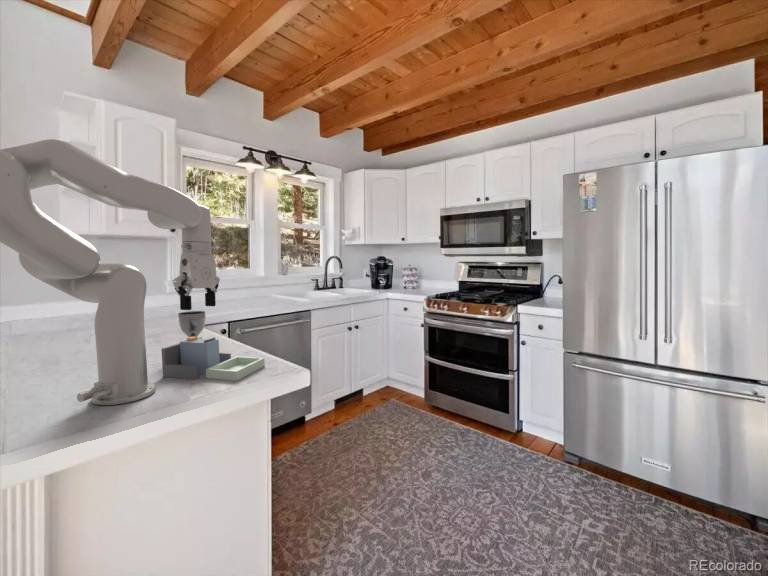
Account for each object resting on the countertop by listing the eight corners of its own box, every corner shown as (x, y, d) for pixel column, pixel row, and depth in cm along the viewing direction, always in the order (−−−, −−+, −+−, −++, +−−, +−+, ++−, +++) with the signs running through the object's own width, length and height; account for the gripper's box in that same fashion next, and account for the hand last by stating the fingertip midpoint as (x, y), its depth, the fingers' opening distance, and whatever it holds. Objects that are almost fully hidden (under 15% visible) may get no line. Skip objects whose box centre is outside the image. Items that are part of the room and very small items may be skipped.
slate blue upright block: (208, 374, 104) (206, 340, 103) (181, 372, 106) (179, 339, 105) (219, 369, 109) (218, 336, 108) (194, 367, 111) (192, 335, 110)
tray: (236, 380, 98) (236, 371, 98) (206, 378, 100) (205, 369, 100) (264, 366, 111) (264, 357, 111) (236, 364, 113) (236, 356, 113)
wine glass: (212, 354, 125) (210, 311, 124) (198, 360, 118) (195, 314, 116) (190, 353, 126) (188, 310, 125) (175, 360, 118) (172, 314, 117)
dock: (196, 379, 99) (195, 350, 98) (163, 376, 102) (161, 348, 101) (231, 364, 113) (230, 338, 113) (200, 362, 116) (199, 337, 115)
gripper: (184, 247, 96) (186, 311, 97) (227, 250, 113) (229, 305, 114) (161, 247, 98) (163, 311, 99) (207, 250, 115) (208, 304, 116)
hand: (198, 307), depth 107 cm, fingers open, 9 cm apart
